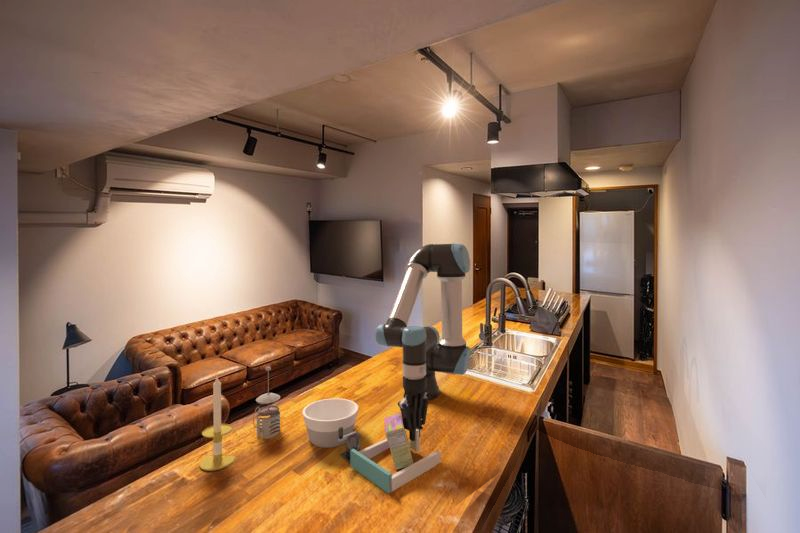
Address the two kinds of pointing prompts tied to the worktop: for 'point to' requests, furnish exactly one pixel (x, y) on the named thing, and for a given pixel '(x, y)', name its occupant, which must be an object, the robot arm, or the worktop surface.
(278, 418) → the french press
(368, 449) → the bay
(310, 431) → the bowl
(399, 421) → the box
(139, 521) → the worktop surface
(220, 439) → the candle
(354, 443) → the winch
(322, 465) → the worktop surface
